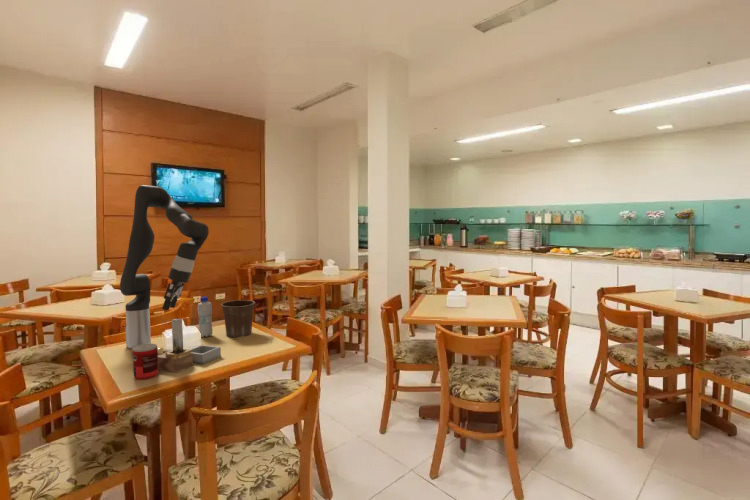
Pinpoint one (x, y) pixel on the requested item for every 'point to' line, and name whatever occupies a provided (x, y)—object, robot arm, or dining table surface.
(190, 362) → the socket block
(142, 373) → the canned food
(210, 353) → the tray
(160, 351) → the release plunger
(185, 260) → the robot arm
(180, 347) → the rod
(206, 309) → the bottle
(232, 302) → the plant pot
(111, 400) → the dining table surface
